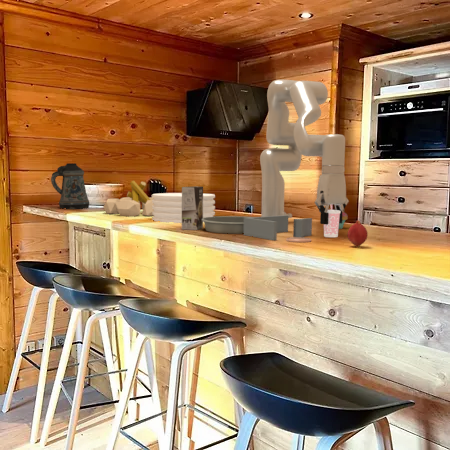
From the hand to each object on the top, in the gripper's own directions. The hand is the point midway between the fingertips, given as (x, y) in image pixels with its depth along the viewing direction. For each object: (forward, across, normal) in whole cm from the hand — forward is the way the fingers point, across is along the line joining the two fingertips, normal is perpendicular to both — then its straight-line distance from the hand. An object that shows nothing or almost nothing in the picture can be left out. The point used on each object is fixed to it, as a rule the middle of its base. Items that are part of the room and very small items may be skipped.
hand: (331, 223), depth 178 cm
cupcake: (+5, -21, -17) cm, 27 cm away
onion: (+5, +11, +21) cm, 24 cm away
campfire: (+5, +17, -113) cm, 115 cm away
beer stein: (+5, +36, -161) cm, 165 cm away
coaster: (+5, +17, +2) cm, 18 cm away
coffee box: (+5, +29, -44) cm, 53 cm away
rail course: (+5, +14, -11) cm, 18 cm away
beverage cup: (+5, 0, 0) cm, 5 cm away
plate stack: (+5, +14, -76) cm, 77 cm away
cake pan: (+5, +18, -32) cm, 37 cm away
